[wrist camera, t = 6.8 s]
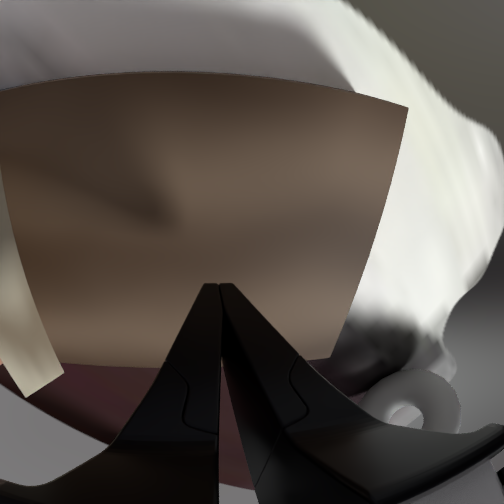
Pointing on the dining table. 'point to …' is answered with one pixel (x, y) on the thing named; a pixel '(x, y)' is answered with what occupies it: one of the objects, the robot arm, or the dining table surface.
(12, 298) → the tile lower
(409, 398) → the donut
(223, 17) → the dining table surface
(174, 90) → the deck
